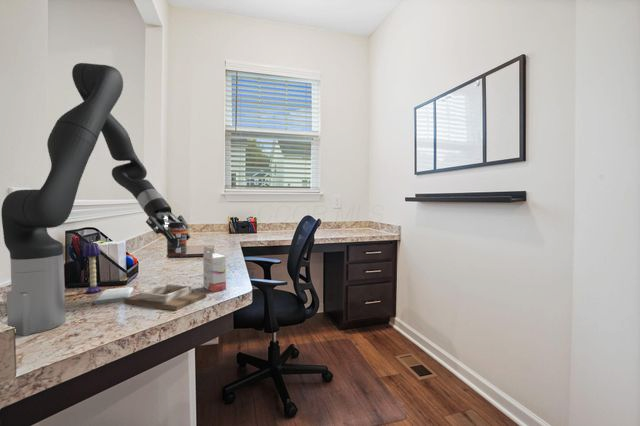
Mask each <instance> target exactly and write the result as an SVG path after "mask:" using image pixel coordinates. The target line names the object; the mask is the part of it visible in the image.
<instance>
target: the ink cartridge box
mask: <svg viewBox="0 0 640 426" xmlns="http://www.w3.org/2000/svg"><path fill="white" fill-rule="evenodd" d="M202 258H203V259H202V260H203V263H202V264H203V288H205V289H206V290H209V291H211V292H213V293H214V292H219V291H225V290H227V279H226V278H227V276H226V275H227V274H226V268H227V266H226V265H227V264H226V263H227V261H226V260H227V259H226V255H222V254H219V253H216V252H215V253H214V249H213V248H211V247H209V246H203V257H202Z"/></svg>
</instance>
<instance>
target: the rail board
mask: <svg viewBox="0 0 640 426" xmlns="http://www.w3.org/2000/svg"><path fill="white" fill-rule="evenodd" d="M205 298H207V293H205V292H204V293H203V292H196V291H192V286H187V285H179V284H171V283H167V284H162V285H160V286H157V287H153V288H150V289H146V290H144V291H141V292H139V293H138V294H135V295H131V296H129V297H128V298H125V299H124V303H125V304H131V305H139V306H145V307H150V308H151V307H153V308H158V309H166V310H170V311H179V310H181V309H183V308H185V307H187V306H190V305H192V304H194V303H197V302H199V301H202V300H203V299H205Z"/></svg>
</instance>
